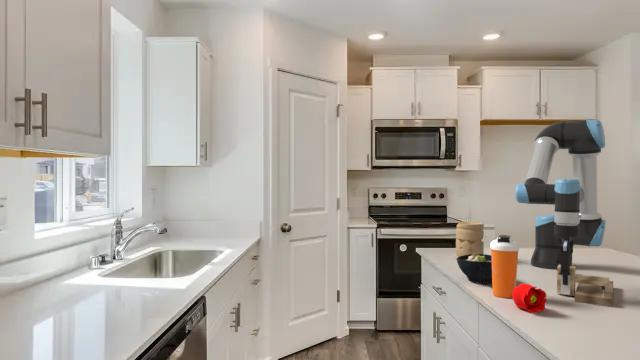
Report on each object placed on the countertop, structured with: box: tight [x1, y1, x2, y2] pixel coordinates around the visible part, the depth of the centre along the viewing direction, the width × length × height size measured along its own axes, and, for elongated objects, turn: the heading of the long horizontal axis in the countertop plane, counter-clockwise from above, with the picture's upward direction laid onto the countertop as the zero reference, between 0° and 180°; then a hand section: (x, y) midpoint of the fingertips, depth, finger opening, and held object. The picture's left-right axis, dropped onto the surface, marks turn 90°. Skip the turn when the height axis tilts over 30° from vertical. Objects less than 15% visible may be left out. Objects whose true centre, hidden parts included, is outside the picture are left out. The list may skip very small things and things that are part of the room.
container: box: [455, 221, 485, 261], centre depth 203 cm, size 13×13×18 cm
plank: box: [573, 280, 614, 308], centre depth 144 cm, size 10×28×2 cm, turn 145°
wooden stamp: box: [556, 265, 610, 297], centre depth 141 cm, size 14×5×9 cm, turn 55°
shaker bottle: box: [489, 234, 520, 299], centre depth 142 cm, size 9×9×20 cm
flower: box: [512, 283, 548, 314], centre depth 128 cm, size 8×8×8 cm
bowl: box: [456, 254, 492, 284], centre depth 163 cm, size 17×17×10 cm
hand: (566, 292), depth 144 cm, fingers closed on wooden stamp, 5 cm apart
